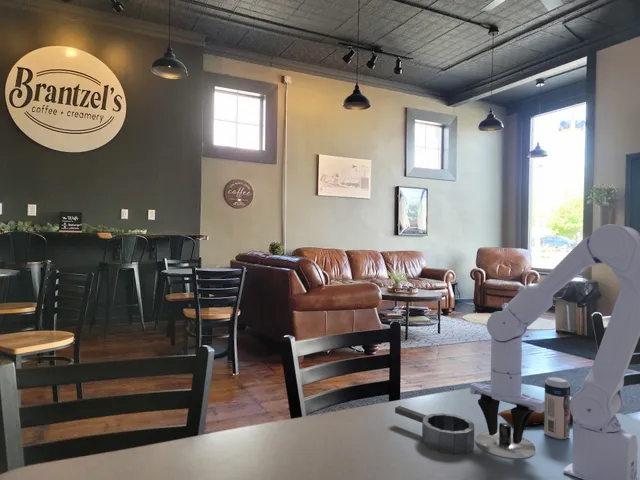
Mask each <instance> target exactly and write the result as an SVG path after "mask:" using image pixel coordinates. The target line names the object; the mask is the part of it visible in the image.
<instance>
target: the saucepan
mask: <svg viewBox="0 0 640 480" xmlns="http://www.w3.org/2000/svg"><path fill="white" fill-rule="evenodd" d="M394 413H395V414H397V415H400V416H402V417H405V418H408V419H410V420H413V421H416V422H419V423H421V424H422V428H421V431H422V432H421V433H422V434H421V442H422V443H423V445H425V446H426V447H427V448H428V449H431V450H433V451H436V452H439V453H442V454H447V455H463V454H468V453H470V452H471V451H474V450H475V423H474V422H472V421H471V419H470V420H469V419H468V418H466V417H464V416H461V415H458V414H450V413H443V412H442V413H430V414H427V415H426V414H424V413H422V412H418V411H416V410H413V409H409V408H407V407H405V406H401V405H398V406H395V407H394Z"/></svg>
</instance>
